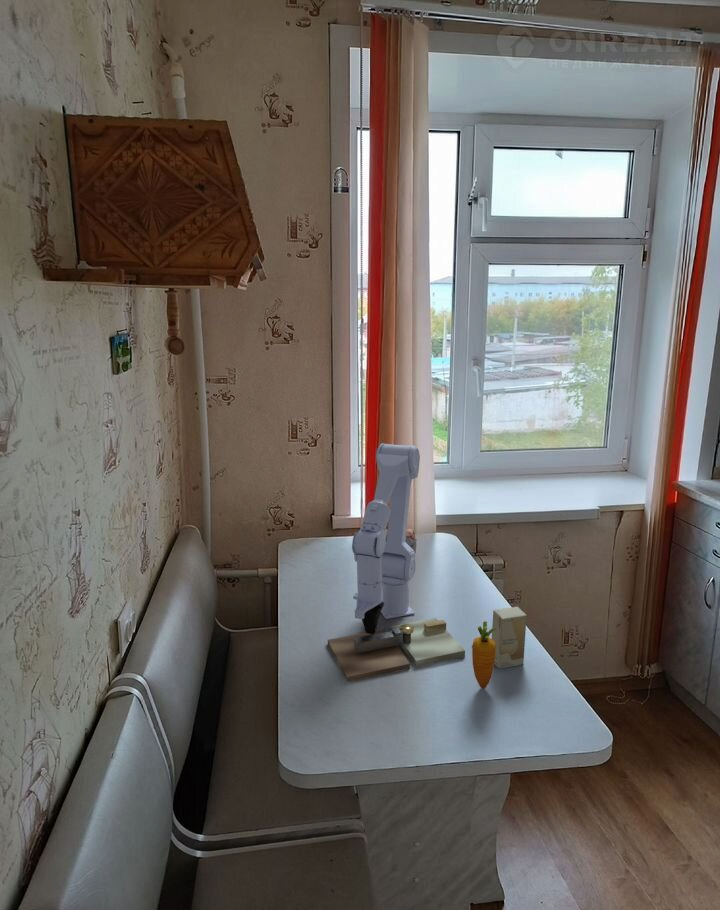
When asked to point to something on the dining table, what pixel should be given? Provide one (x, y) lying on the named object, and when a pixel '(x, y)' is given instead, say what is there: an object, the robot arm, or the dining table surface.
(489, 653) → the carrot
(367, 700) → the dining table surface
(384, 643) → the swing bar
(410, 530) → the food item
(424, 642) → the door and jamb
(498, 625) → the skincare box
